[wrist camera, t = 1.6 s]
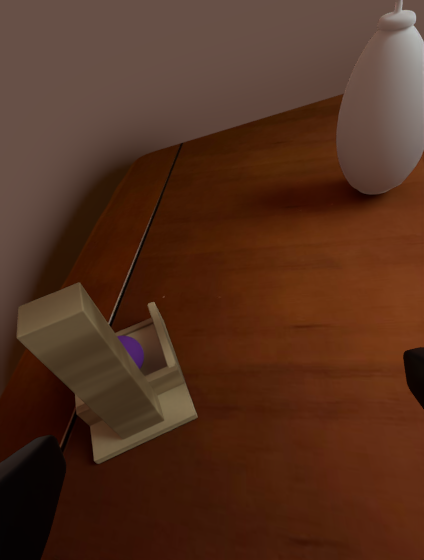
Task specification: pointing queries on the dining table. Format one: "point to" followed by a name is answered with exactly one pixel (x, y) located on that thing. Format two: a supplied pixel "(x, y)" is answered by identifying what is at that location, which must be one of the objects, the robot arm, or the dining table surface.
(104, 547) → the dining table surface
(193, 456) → the dining table surface
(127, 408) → the scoop
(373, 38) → the sauce bottle
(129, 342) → the ball
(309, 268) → the dining table surface
